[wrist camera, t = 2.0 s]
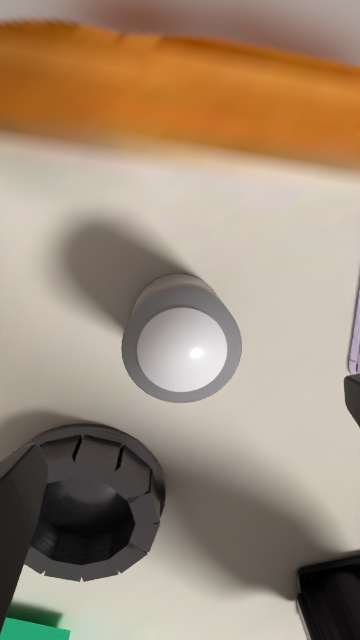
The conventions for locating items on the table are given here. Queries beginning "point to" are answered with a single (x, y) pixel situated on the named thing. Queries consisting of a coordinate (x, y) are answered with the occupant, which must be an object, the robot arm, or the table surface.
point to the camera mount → (31, 631)
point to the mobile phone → (355, 344)
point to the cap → (180, 340)
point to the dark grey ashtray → (95, 503)
